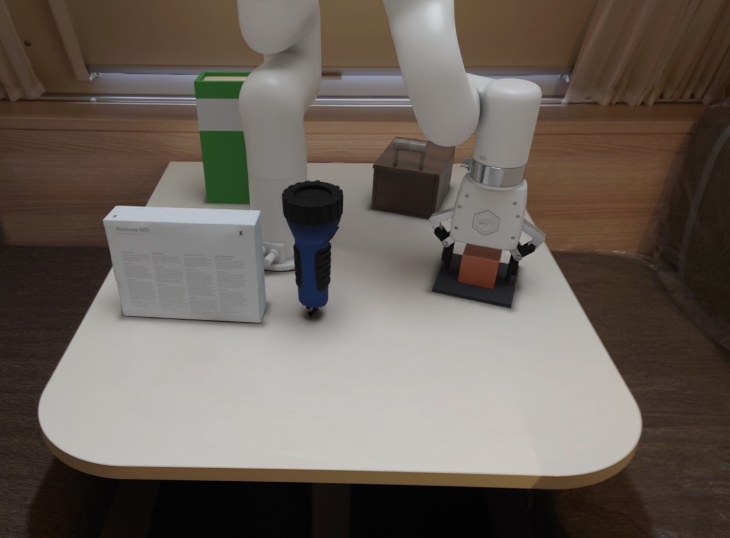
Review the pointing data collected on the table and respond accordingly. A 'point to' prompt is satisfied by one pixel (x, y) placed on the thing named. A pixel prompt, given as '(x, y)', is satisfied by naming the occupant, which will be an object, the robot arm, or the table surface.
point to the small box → (479, 265)
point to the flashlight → (313, 236)
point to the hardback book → (222, 136)
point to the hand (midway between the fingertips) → (477, 271)
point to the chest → (410, 191)
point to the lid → (414, 157)
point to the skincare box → (188, 262)
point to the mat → (496, 296)
